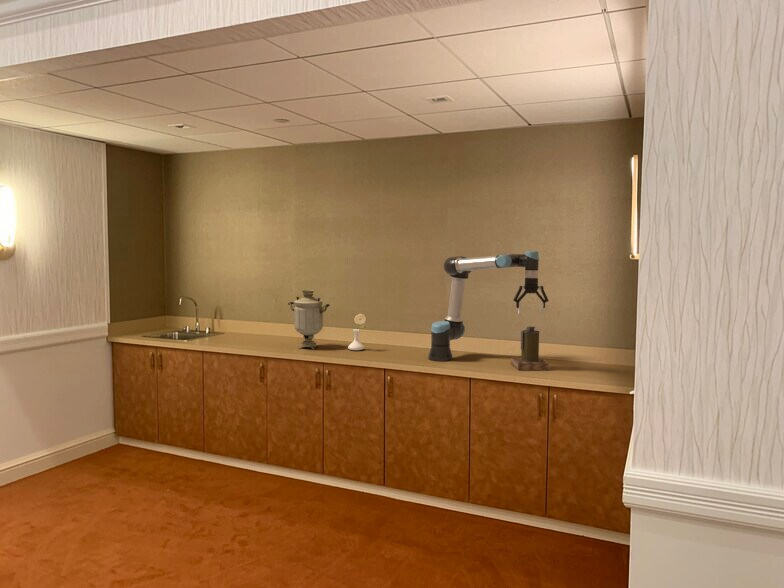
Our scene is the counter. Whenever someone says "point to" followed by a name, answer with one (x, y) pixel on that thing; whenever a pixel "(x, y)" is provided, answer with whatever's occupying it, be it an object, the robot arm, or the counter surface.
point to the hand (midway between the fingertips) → (530, 313)
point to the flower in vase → (356, 344)
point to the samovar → (308, 317)
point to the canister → (530, 345)
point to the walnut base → (529, 364)
